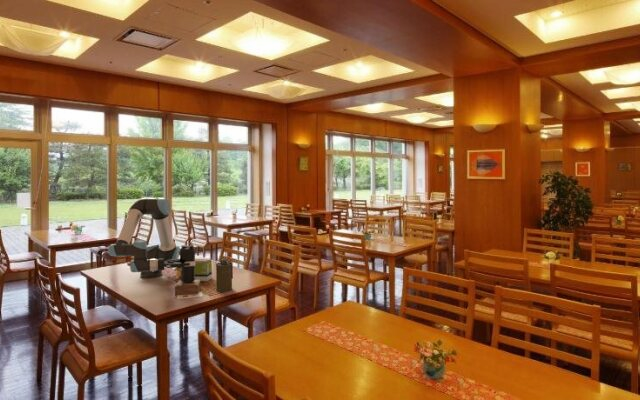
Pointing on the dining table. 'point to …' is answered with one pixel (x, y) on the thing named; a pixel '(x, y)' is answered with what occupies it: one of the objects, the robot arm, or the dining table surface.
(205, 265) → the tea box
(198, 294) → the page
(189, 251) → the water bottle
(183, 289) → the plinth
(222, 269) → the canister
